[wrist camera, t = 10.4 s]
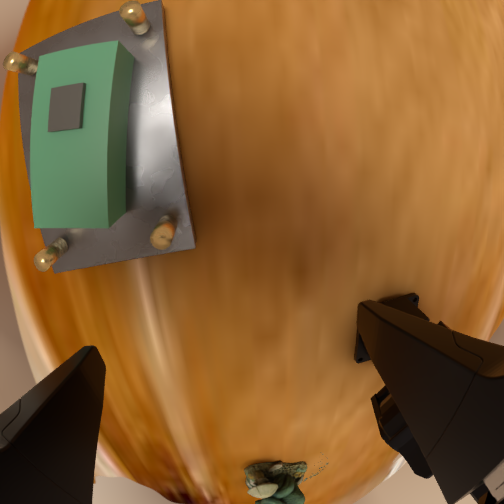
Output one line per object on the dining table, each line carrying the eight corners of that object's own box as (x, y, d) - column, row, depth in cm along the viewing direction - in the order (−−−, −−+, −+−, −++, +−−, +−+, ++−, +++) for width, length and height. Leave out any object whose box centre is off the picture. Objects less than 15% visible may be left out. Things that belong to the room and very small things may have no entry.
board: (125, 212, 17) (106, 230, 14) (60, 213, 17) (31, 230, 13) (134, 57, 14) (116, 37, 10) (65, 67, 13) (36, 54, 9)
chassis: (196, 240, 20) (193, 267, 16) (62, 265, 19) (36, 292, 15) (164, 8, 14) (154, -22, 10) (28, 57, 13) (-4, 46, 9)
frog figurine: (205, 448, 30) (211, 528, 19) (342, 431, 32) (372, 499, 22) (214, 494, 36) (220, 550, 26) (317, 481, 39) (334, 532, 28)
